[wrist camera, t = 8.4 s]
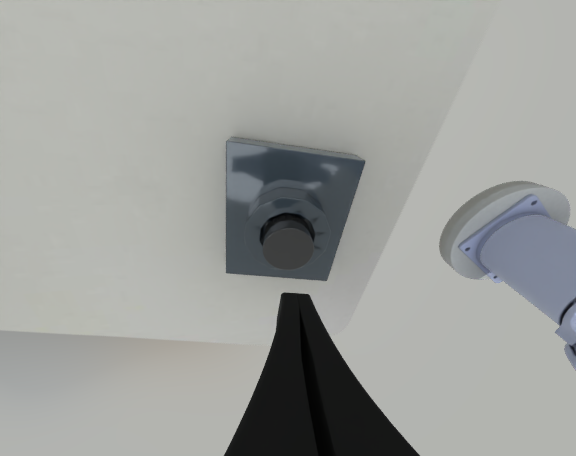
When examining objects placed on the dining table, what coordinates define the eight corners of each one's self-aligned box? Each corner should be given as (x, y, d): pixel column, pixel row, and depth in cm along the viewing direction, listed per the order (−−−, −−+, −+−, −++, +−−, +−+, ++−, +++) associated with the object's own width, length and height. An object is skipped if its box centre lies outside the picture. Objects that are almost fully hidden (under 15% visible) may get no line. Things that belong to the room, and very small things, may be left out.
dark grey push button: (266, 211, 16) (265, 225, 14) (314, 217, 16) (319, 231, 14) (262, 251, 17) (260, 268, 16) (305, 255, 18) (308, 272, 16)
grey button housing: (231, 136, 16) (219, 145, 13) (356, 155, 17) (376, 168, 14) (229, 260, 22) (221, 289, 19) (323, 267, 23) (331, 296, 20)
